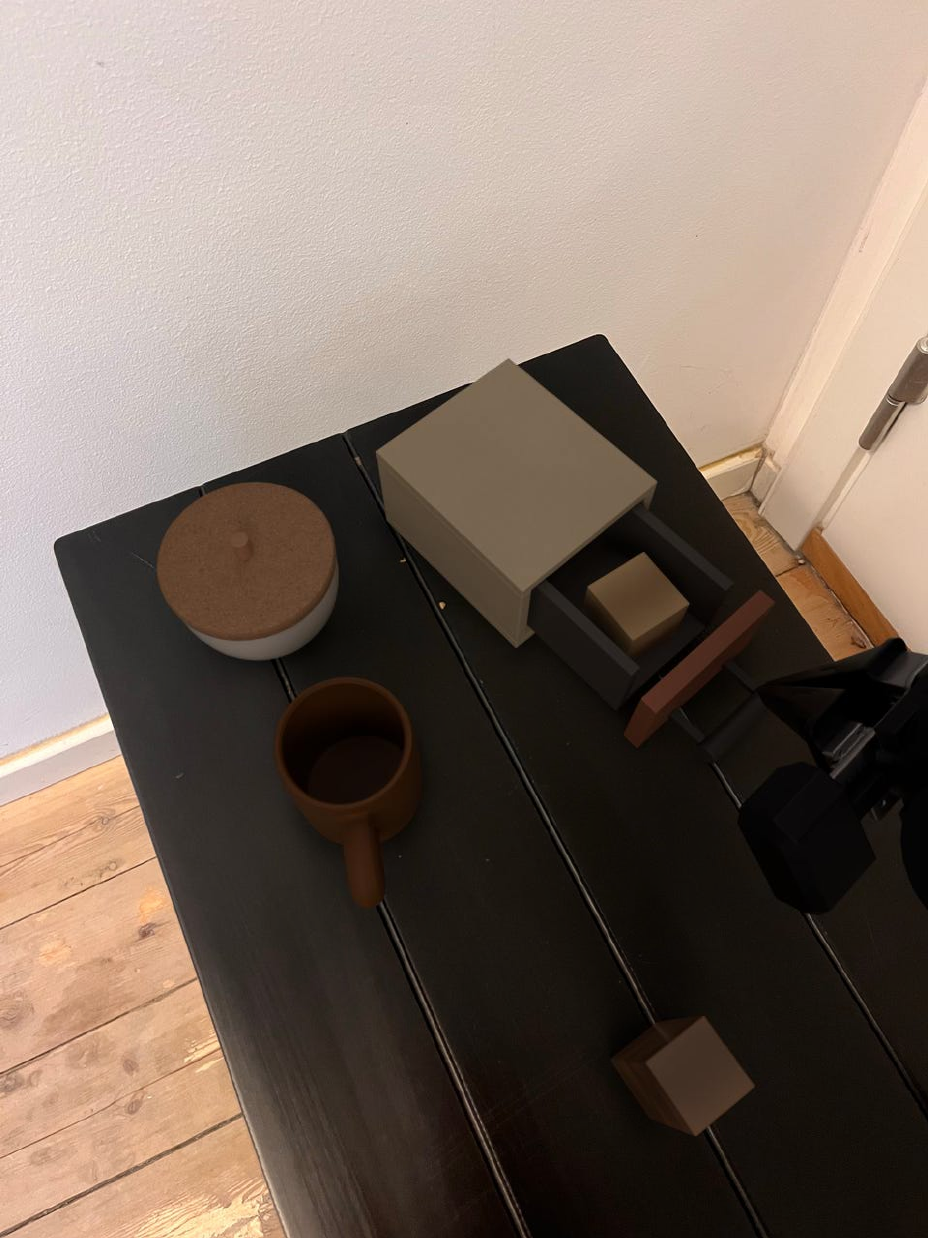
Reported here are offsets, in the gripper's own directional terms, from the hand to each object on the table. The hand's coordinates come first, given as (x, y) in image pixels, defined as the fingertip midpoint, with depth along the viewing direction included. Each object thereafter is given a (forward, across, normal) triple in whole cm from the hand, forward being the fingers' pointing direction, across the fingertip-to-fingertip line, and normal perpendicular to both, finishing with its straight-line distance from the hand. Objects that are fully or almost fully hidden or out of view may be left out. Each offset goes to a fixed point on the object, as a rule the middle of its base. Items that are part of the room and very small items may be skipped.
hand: (763, 693), depth 48 cm
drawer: (+10, 0, 0) cm, 10 cm away
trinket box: (+24, -16, +13) cm, 32 cm away
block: (+11, 0, +2) cm, 11 cm away
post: (-1, -17, -12) cm, 21 cm away
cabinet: (+20, 0, +9) cm, 22 cm away
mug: (+14, -20, +2) cm, 24 cm away
